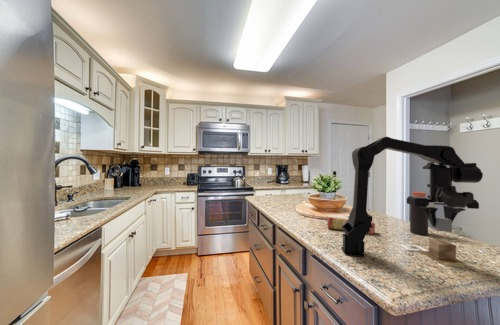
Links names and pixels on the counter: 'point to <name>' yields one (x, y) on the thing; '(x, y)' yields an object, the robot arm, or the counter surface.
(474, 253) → the counter surface
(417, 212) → the bottle
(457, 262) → the shard
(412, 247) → the plan card
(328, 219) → the snack package
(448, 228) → the gray cube
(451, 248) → the walnut block
